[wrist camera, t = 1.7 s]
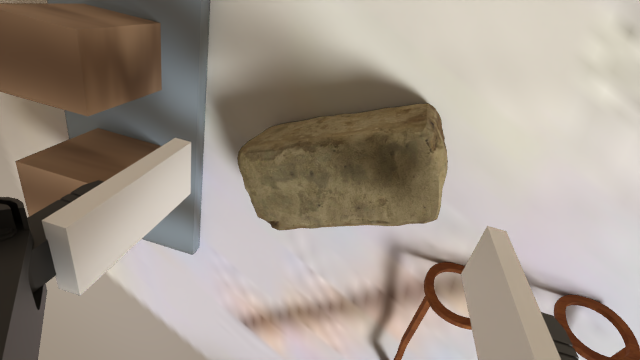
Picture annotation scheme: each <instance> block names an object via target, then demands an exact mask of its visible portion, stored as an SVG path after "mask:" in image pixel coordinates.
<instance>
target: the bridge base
mask: <svg viewBox="0 0 640 360" xmlns="http://www.w3.org/2000/svg"><path fill="white" fill-rule="evenodd" d="M47 1H48V4H0V92H4V93H7V94H11V95H14V96H18V97H21V98H25V99H28V100H32V101H35V102H39V103H42V104H46V105H49V106H53V107H56V108H60V109H63V110H65V115H66V122H67V128H68V135H69V140H67V141H64V142H62V143H59V144H57V145H54V146H52V147H50V148H47V149H45V150H42V151H40V152H37V153H35V154H32V155H30V156H27V157H25V158H22V159H20V160H18V161H16V165H17V169H18V173H19V178H20V182H21V186H22V190H23V194H24V198H25V202H26V206H27V210H28V214H29V217H30V216H31V215H33V214H35V213H36V212H38V211H40V210H41V209H43V208H45V207H47V206H48V205H50V204H52V203H53V202H55V201H57V200H60V198H62V197H64V196H65V195H67V194H70V193H71V192H72V191H74V190H75V189H77V188H79V187H80V186H82V185H85V184H88V183H91V182H94V181H97V180H100V181H104V182H105V181H106V180H108V179H110V178H111V177H113V176H114V175H116V174H118V173H119V172H121V171H122V170H124V169H126V168H127V167H129V166H131V165H132V164H134V163H135V162H137V161H139V160H140V159H142V158H143V157H145V156H147V155H148V154H150V153H151V152H153V151H155V150H156V149H158V148H160V147H161V146H163V145H164V144H166V143H168V142H169V141H171V140H172V139H174V138H178V139H182V140H185V141H189V142H191V194H190V195H189V196H187V197H186V198H185V199H184V200H183V201H182V202H181V203H180V204H179V205H178V206H177V207H176V208H175V209H173V210H172V211H171V212H170V213H169V214H168V215H167V216H166V217H165V218H164V219H163V220H162V221H160V222H159V223H158V224H157V225H156V226H155V227H154V228H153V229H152V230H151V231H150V232H149V233H147V234H146V235H145V236H144V237H143V238H142V239H144V240H147V241H150V242H153V243H156V244H160V245H163V246H166V247H169V248H172V249H175V250H179V251H182V252H185V253H188V254H191V255H193V254H194V253H195V252H196V251H197V249H198V248H199V240H200V217H201V194H202V171H203V148H204V126H205V103H206V80H207V57H208V34H209V11H210V0H47Z"/></svg>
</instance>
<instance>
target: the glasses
mask: <svg viewBox="0 0 640 360" xmlns="http://www.w3.org/2000/svg"><path fill="white" fill-rule="evenodd" d="M464 268H465V266H463V265H459V264H455V263H451V262H443V263H438V264H435V265H434V266H432V267H431V268H430V270H429V271H428V273H427V275H426V277H425V281H424V292H425V295H426V296H425V297H424V299H423V301H422V303H421V305H420V306H419V308H418V310H417V312H416V314H415V315H414V317H413V319H412V321H411V323H410V324H409V326H408V328H407V330H406V332H405V334H404V335H403V337H402V340H401V343H400V345H399V348H398V351H397V354H396V356H395V358H394V360H401V359H402V356H403V354H404V351H405V349H406V346H407V345H408V343H409V341H410V339H411V338H412V336H413V334H414V333H415V331H416V329H417V328H418V326H419V324H420V322H421V321H422V319H423V317H424V316H425V314H426V312H427V311H428V309H429V307H430V306H431V308H432V309H433V310H434V311H435V312H436V313H437V314H438V315H439V316H440V317H441V318H443V319H444V320H446V321H447V322H449V323H451V324H453V325H455V326H458V327H461V328H465V329H470V330H472V327H471V322H470V318H466V317H462V316H459V315H457V314H455V313H453V312H451V311H450V310H448V309H447V308H445V307H444V306H443V305H442V304H441V302H440V301H439V300H438V298H437V296H436V294H435V290H434V279H435V277H436V276H437V275H438V274H439V273H442V272H455V273H459V274H461V273H462V271H463V270H464ZM569 305H580V306H584V307H587V308H590V309H592V310H595V311H596V312H598V313H600V314H602V315H603V316H604V317H606V318H607V319H608V320H609V321H610V322H611V323H612V324H613V325H614V326H615V327H616V328H617V330H618V331H619V333H620V334H621V336H622V338H623V340H624V343H625V346H626V347H625V348H623V349H622V350H621V351H619V352H618V353H616V354H615V355H613V356H612V357H607V356H604V355H601V354H599V353H597V352H595V351H593V350H591V349H590V348H588V347H587V346H585V345H584V344H583V343H582V342H581V341H580V340H578V339H577V338H576V336H575V335H574V334H573V333H572V331H571V330H570V328H569V326H568V323H567V320H566V314H565V311H566V307H567V306H569ZM554 317H555V319H556V320H557V321H558V322H559V323H560V325H561V326H562V327H563V328H564V329H565V330H566V332H567V334H568V337H569V339H570V341H571V343H572V345H573V346H572V348H574V349H575V351H576V352H577V353H578V354H580V355H581V356H582V357H584V358H585V359H587V360H640V348H639V345H638V342H637V340H636V338H635V336H634V334H633V332H632V331H631V329H630V328H629V327H628V325H627V324H626V323H625V322H624V321H623V320H622V318H621V317H619V316H618V315H617V314H616V313H615V312H614V311H612V310H611V309H609V308H608V307H607V306H605V305H603V304H601V303H599V302H597V301H595V300H593V299H590V298H586V297H582V296H578V295H565V296H563V297H561V298H560V299H559V300H558V301H557V302H556V303H555V307H554Z"/></svg>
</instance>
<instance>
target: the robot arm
mask: <svg viewBox="0 0 640 360" xmlns="http://www.w3.org/2000/svg"><path fill="white" fill-rule="evenodd" d="M190 194H191V142H189V141H185V140H182V139H178V138H174V139H172V140H171V141H169V142H168V143H166V144H164V145H163V146H161V147H160V148H158V149H156V150H155V151H153V152H151V153H150V154H148V155H147V156H145V157H143V158H142V159H140V160H139V161H137V162H135V163H134V164H132V165H131V166H129V167H127V168H126V169H124V170H122V171H121V172H119V173H118V174H116V175H114V176H113V177H111V178H110V179H108V180H106V181H105V182H104V181H100V180H97V181H94V182H91V183H88V184H85V185H82V186H80V187H79V188H77V189H75V190H74V191H72V192H71V193H70V194H67V195H65V196H64V197H62V198H60V200H57V201H55V202H53V203H52V204H50V205H48V206H47V207H45V208H43V209H41V210H40V211H38V212H36V213H35V214H33V215H31V216H30V217H28V218H27V216H26V212H25V208H24V205H23V203H22V202H21V201H20V200H18V199H15V198H10V197H0V360H38V354H39V347H40V339H41V332H42V324H43V316H44V309H45V302H46V295H47V289H46V284H45V283H47V282H48V281H49V280H50V279H52V278H53V277H54V276H56V280H57V284H58V287H59V289H62V290H65V291H68V292H71V293H74V294H77V295H82V293H84V292H85V291H86V290H87V289H88V288H89V287H90V286H91V285H92V284H93V283H94V282H95V281H97V280H98V279H99V278H100V277H101V276H102V275H103V274H104V273H105V272H106V271H107V270H109V269H110V268H111V267H112V266H113V265H114V264H115V263H116V262H117V261H118V260H119V259H120V258H122V257H123V256H124V255H125V254H126V253H127V252H128V251H129V250H130V249H131V248H132V247H133V246H135V245H136V244H137V243H138V242H139V241H140V240H141V239H142V238H143V237H144V236H145V235H146V234H147V233H149V232H150V231H151V230H152V229H153V228H154V227H155V226H156V225H157V224H158V223H159V222H160V221H162V220H163V219H164V218H165V217H166V216H167V215H168V214H169V213H170V212H171V211H172V210H173V209H175V208H176V207H177V206H178V205H179V204H180V203H181V202H182V201H183V200H184V199H185V198H186V197H187V196H189V195H190ZM461 277H462V282H463V287H464V292H465V297H466V302H467V307H468V312H469V317H470V322H471V327H472V332H473V337H474V341H475V346H476V351H477V356H478V360H578V358H579V357H578V355H577V353H576V351H575V349H574V348H572V346H573V345H572V343H571V341H570V339H569V337H568V334H567V332H566V330H565V329H564V328H563V327H562V326H561V325H560V323H559V322H558V321H557V320H556V319H555V317H554V316H552V315H549V314H545V313H542V312H541V311H540V309H539V307H538V304H537V302H536V300H535V297H534V295H533V293H532V290H531V288H530V286H529V283H528V281H527V279H526V276H525V274H524V272H523V269H522V267H521V265H520V262H519V260H518V258H517V255H516V253H515V251H514V248H513V246H512V244H511V241H510V239H509V237H508V234H507V232H506V231H503V230H500V229H496V228H492V227H489V226H487V228H486V230H485V231H484V233H483V235H482V237H481V239H480V240H479V242H478V244H477V246H476V248H475V250H474V251H473V253H472V255H471V257H470V259H469V260H468V262H467V264H466V266H465V268H464V270H463V271H462V273H461Z"/></svg>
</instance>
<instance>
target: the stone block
mask: <svg viewBox="0 0 640 360" xmlns="http://www.w3.org/2000/svg"><path fill="white" fill-rule="evenodd" d="M444 139H445V138H444V135H443V130H442V123H441V118H440V116H439V114H438V112H437V111H436V109H435V108H434V107H433V106H432V105H430V104H428V103H426V104H414V105H407V106H401V107H395V108H383V109H378V110H372V111H367V112H361V113H355V114H340V115H335V116H321V117H317V118H313V119H309V120H303V121H297V122H290V123H284V124H280V125H276V126H273V127H270V128H268V129H266V130H265V131H264V132H263V133H261V134H259V135H258V136H256V137H255V138H253V139H251V140H250V141H248V142H247V143H246V144H245V145H244V146H242V147H241V150H240V151H239V153H238V158H237V159H238V165H239V169H240V172H241V174H242V177H243V181H244V185H245V189H246V190H247V192H248V193H249V196H250V198H251V202H252V204H253V206H254V208H255V211H256V213H257V216H258V217H259V218H261V219H264V220H266V221H267V222H268V223H270V224H271V226H272V228H275V229H277V230H290V229H297V228H320V227H336V226H358V225H379V226H400V225H405V224H415V223H423V224H424V223H427V222H431V221H434V220H436V219H437V218H438V215H439V211H440V207H441V197H442V188H443V184H444V181H445V178H446V174H447V163H448V160H447V150H446V146H445V142H444Z"/></svg>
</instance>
